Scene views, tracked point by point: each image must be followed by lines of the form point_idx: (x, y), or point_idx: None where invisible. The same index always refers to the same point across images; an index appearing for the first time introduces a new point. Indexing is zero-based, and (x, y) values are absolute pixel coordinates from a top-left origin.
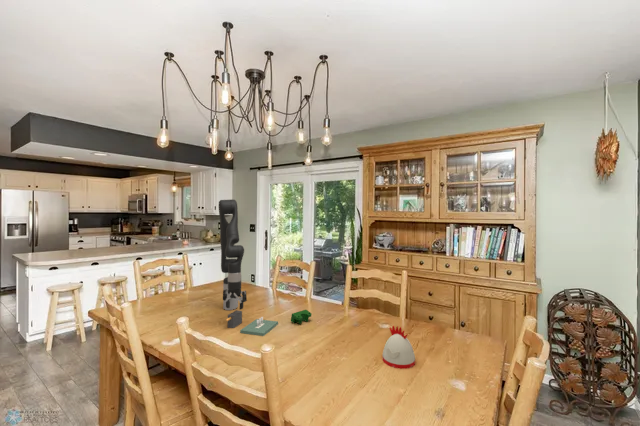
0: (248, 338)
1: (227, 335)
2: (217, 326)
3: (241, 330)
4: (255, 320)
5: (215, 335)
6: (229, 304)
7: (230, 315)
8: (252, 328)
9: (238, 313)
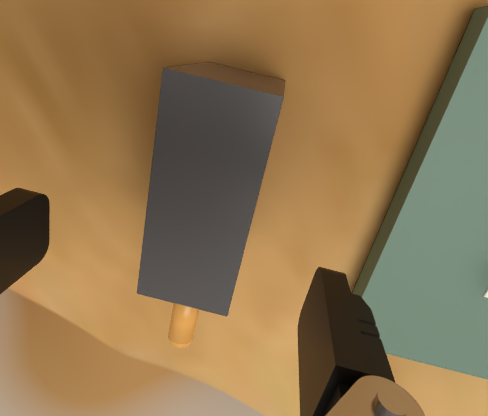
0: (426, 406)
1: (250, 360)
2: (76, 196)
3: None
4: (477, 72)
5: (163, 358)
6: (3, 224)
7: (181, 304)
8: (456, 310)
9: (256, 201)
